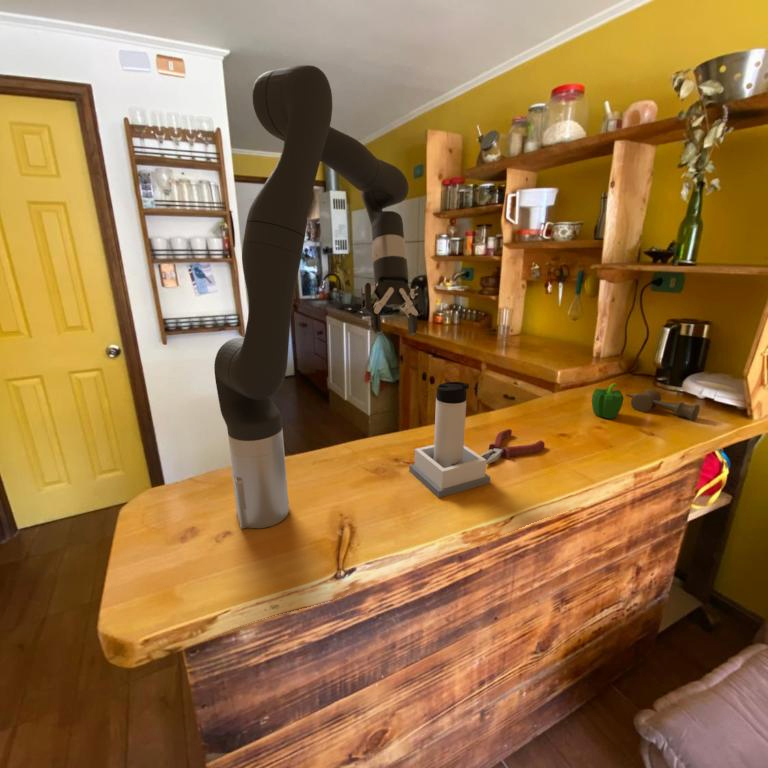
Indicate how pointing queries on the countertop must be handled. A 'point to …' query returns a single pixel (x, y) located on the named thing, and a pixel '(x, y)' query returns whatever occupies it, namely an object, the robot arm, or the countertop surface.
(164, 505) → the countertop surface
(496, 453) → the pliers
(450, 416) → the travel mug
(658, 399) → the kendama
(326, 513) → the countertop surface
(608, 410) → the bell pepper
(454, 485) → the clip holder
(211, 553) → the countertop surface
